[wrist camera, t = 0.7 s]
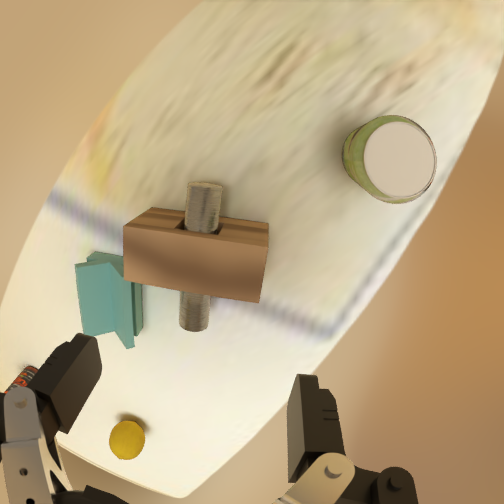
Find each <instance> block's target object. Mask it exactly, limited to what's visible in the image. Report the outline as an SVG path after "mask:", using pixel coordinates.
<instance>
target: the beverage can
mask: <svg viewBox="0 0 504 504" xmlns="http://www.w3.org/2000/svg"><path fill="white" fill-rule="evenodd" d="M342 159H343V164H344V167H345V169H346V171H347V173H348V174H349V176H350V177H351V178H352V179H353V180H354V181H355V182H356V183H358V184H359V185H360V186H361V187H362V188H364V189H365V190H366V191H367V192H368V193H369V194H371V195H372V196H374V197H375V198H377V199H379V200H381V201H384V202H387V203H392V204H401V203H407V202H410V201H413V200H415V199H416V198H418V197H420V196H421V195H422V194H423V193H424V192H425V191H426V190H427V189H428V188H429V186H430V185H431V183H432V181H433V178H434V176H435V172H436V163H437V159H436V152H435V149H434V145H433V143H432V141H431V139H430V137H429V136H428V134H427V133H426V132H425V130H424V129H423V128H422V127H421V126H420V125H418V124H417V123H415V122H414V121H412V120H410V119H408V118H406V117H402V116H397V115H387V116H381V117H378V118H376V119H374V120H372V121H370V122H368V123H367V124H365V125H363V126H361V127H360V128H358V129H356V130H355V131H353V132H352V133H351V134H350V135H349V136H348V138H347V139H346V141H345V143H344V146H343V151H342Z"/></svg>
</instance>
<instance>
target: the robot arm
mask: <svg viewBox="0 0 504 504" xmlns="http://www.w3.org/2000/svg"><path fill="white" fill-rule="evenodd" d="M101 372H102V363H101V358H100V353H99V348H98V343H97V339H96V338H95V337H93V336H89V335H86V334H82V333H78V334H76V335H75V337H74V338H73V339H72V340H71V342H67V341H66V342H65V343H63V344H61V345H60V346H58V347H56V349H55V350H54V351H53V352H52V354H51V355H50V357H48V359H47V360H46V361H45V364H43V365H42V366H41V367H40V369H39V370H38V371H37V372H36V374H35V375H34V376H33V378H32V379H31V380H30V381H29V383H28V384H27V385H26V386H25V387H22V386H20V387H15V388H13V389H11V390H9V391H8V392H7V393H0V462H1V460H2V462H3V469H4V476H5V482H6V487H7V493H8V498H9V503H10V504H129V503H127V502H125V501H123V500H122V499H120V498H118V497H117V496H115V495H112V494H110V493H107V492H104V491H101V490H98V489H96V488H93V487H91V486H88V485H86V488H85V490H84V491H79V490H73V489H72V487H71V485H70V483H69V481H68V479H67V476H66V473H65V470H64V466H63V463H62V459H61V455H60V451H59V447H58V443H57V439H56V437H55V435H56V433H57V432H58V430H59V431H61V432H63V433H66V434H68V433H69V431H70V429H71V427H72V425H73V423H74V422H75V420H76V418H77V416H78V415H79V413H80V411H81V409H82V407H83V406H84V404H85V402H86V401H87V399H88V397H89V395H90V394H91V392H92V390H93V388H94V387H95V385H96V383H97V382H98V380H99V378H100V376H101ZM287 438H288V483H295V484H294V485H293V486H292V487H291V488H290V489H289V490H288V491H287V492H286V493H285V494H284V495H283V496H282V497H281V498H278V499H277V500H276V501H275V502H273V503H272V504H418V499H417V494H416V489H415V484H414V480H413V477H412V476H411V474H410V473H409V472H408V471H406V470H405V469H403V468H400V467H389V468H387V469H385V470H383V471H382V472H381V473H378V472H373V471H368V470H364V469H361V468H358V467H356V466H355V465H353V463H352V462H351V461H350V459H349V458H347V457H346V454H345V451H344V446H343V439H342V433H341V428H340V422H339V416H338V412H337V405H336V400H335V398H334V397H333V395H332V394H331V392H330V391H329V390H328V389H319V384H318V378H317V376H316V375H306V374H297V375H296V378H295V381H294V384H293V388H292V391H291V394H290V397H289V401H288V406H287Z"/></svg>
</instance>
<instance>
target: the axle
mask: <svg viewBox="0 0 504 504" xmlns="http://www.w3.org/2000/svg"><path fill="white" fill-rule="evenodd" d="M222 188H223V187H222V186H220V185H217V184H212V183H203V182H193V183H188V189H187V200H186V211H185V223H184V230H187V231H194V232H201V233H208V234H215V235H217V231H218V222H219V213H220V205H221V197H222ZM210 300H211V296H209V295H203V294H197V293H191V292H185V291H180V312H179V324H180V326H181V327H182V328H183V329H185V330H187V331H192V332H199V331H203V330H205V329H206V328H207V327H208V322H209V311H210Z"/></svg>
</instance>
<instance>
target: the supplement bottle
mask: <svg viewBox="0 0 504 504" xmlns="http://www.w3.org/2000/svg"><path fill="white" fill-rule="evenodd" d="M37 371H38V370H37V369H35V368H33V367H26V368H25V369H24V370H23V371H22V372H21V373H20V374H19V375H18V377H17V378H16V379H15V380H14V381H13V383H12V384H11V385H10V386H9V387H8V389H7V390H6V391H5V392H4V393H7V392H8V391H9V390H11V389H13V388H15V387H20V386H22V387H25V386H26V385H27V384H28V383H29V381H30V380H31V379H32V378H33V376H34V375H35V374H36V372H37Z"/></svg>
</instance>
